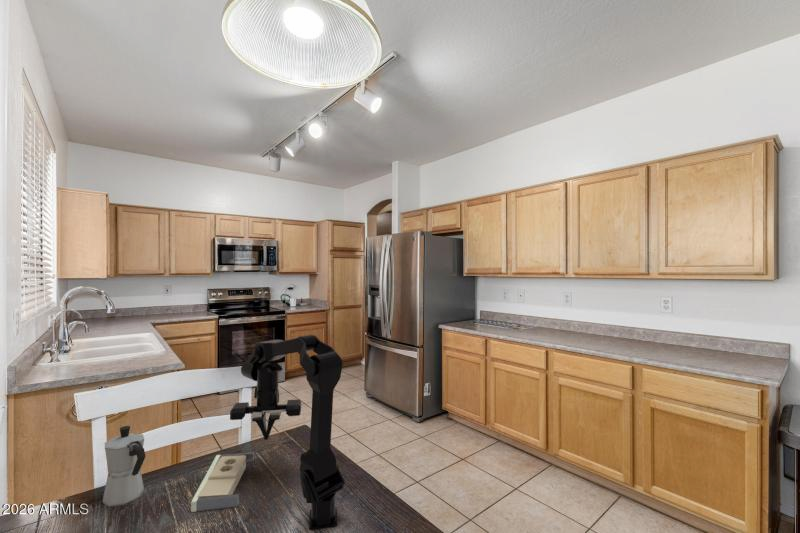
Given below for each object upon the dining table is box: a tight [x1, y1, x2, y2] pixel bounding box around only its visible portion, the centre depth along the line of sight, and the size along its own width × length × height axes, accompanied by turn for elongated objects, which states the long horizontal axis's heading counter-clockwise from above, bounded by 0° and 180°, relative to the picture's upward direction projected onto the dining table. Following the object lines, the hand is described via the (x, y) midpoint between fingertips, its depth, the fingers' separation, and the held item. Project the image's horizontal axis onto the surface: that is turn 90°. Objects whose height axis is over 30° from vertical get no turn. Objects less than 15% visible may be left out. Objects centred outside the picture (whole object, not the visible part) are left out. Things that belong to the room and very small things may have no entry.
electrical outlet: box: [197, 455, 247, 498], centre depth 101 cm, size 7×4×18 cm
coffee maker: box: [101, 425, 146, 508], centre depth 95 cm, size 15×9×18 cm, turn 62°
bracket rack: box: [190, 451, 255, 513], centre depth 102 cm, size 23×11×2 cm, turn 12°
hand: (266, 439), depth 105 cm, fingers closed
